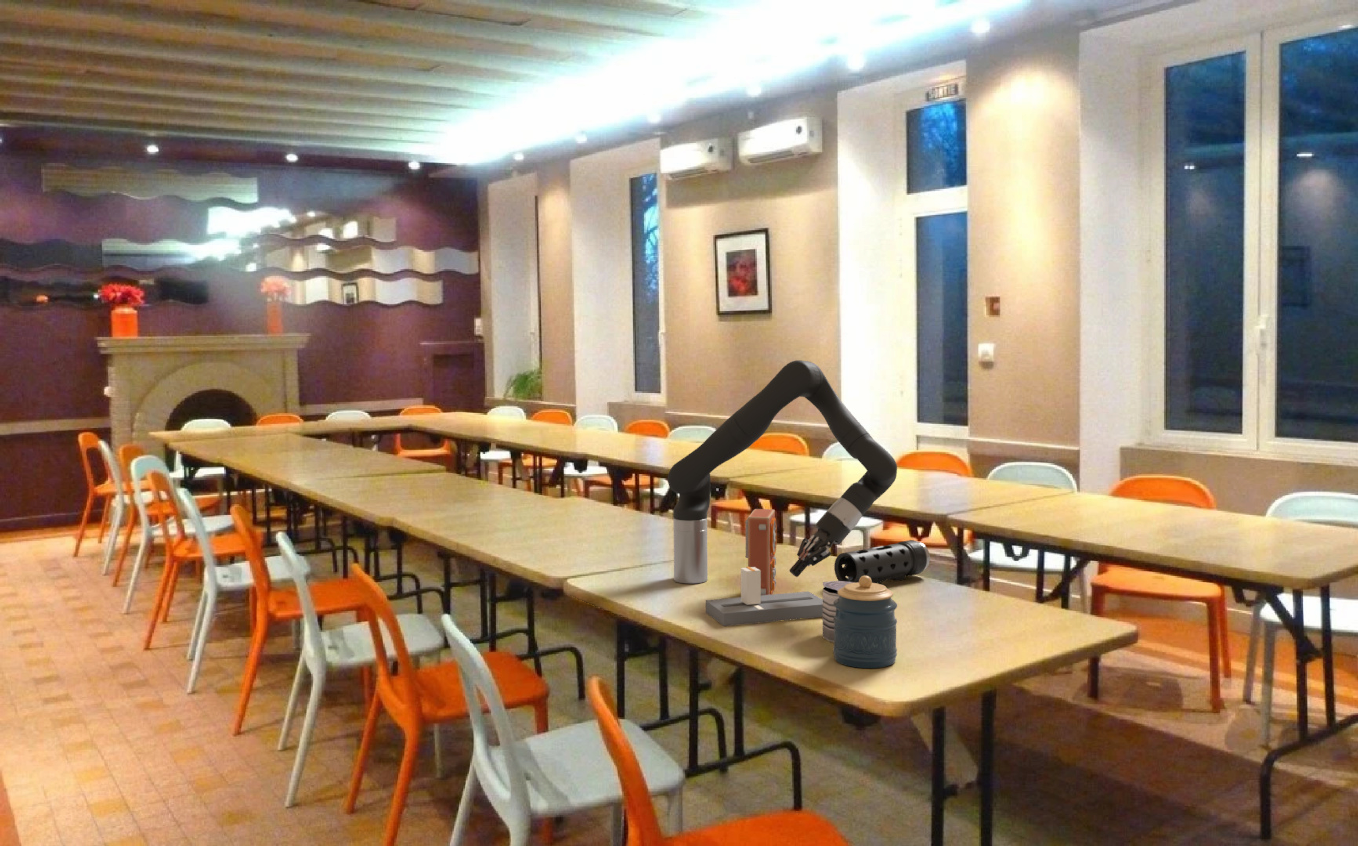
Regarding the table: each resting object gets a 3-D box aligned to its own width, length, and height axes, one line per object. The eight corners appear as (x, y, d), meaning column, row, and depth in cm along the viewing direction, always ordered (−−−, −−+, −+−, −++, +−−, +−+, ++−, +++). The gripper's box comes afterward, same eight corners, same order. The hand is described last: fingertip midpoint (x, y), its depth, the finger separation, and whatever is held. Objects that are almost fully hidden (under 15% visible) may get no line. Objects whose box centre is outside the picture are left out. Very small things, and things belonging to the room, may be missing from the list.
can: (819, 630, 247) (819, 578, 246) (870, 630, 247) (870, 578, 246) (824, 644, 236) (825, 590, 234) (877, 644, 235) (878, 590, 234)
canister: (838, 648, 233) (838, 567, 231) (899, 653, 229) (900, 570, 227) (828, 666, 220) (828, 581, 219) (893, 671, 217) (894, 584, 215)
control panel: (778, 589, 286) (771, 603, 272) (751, 587, 288) (743, 601, 273) (778, 508, 285) (771, 518, 270) (751, 507, 286) (743, 517, 271)
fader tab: (740, 600, 261) (740, 567, 260) (754, 599, 262) (754, 566, 261) (746, 604, 257) (746, 570, 256) (760, 603, 258) (760, 569, 257)
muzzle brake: (833, 587, 288) (833, 549, 287) (905, 573, 304) (906, 536, 303) (858, 594, 280) (859, 554, 279) (932, 579, 297) (932, 541, 296)
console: (705, 612, 263) (705, 599, 263) (808, 603, 271) (808, 590, 271) (723, 626, 251) (723, 613, 251) (830, 616, 259) (830, 603, 259)
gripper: (817, 506, 270) (772, 558, 267) (840, 514, 257) (793, 569, 255) (837, 526, 272) (792, 578, 269) (861, 535, 259) (814, 590, 257)
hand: (792, 574), depth 262 cm, fingers closed
